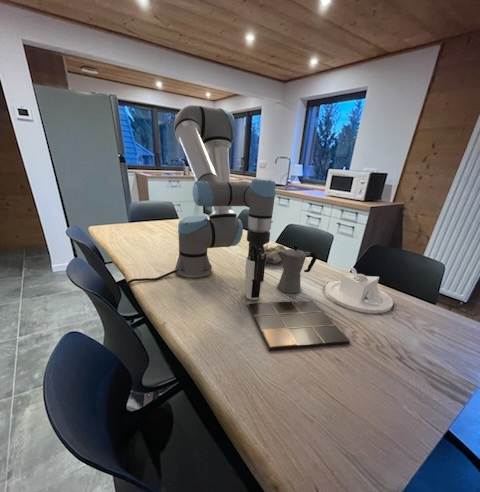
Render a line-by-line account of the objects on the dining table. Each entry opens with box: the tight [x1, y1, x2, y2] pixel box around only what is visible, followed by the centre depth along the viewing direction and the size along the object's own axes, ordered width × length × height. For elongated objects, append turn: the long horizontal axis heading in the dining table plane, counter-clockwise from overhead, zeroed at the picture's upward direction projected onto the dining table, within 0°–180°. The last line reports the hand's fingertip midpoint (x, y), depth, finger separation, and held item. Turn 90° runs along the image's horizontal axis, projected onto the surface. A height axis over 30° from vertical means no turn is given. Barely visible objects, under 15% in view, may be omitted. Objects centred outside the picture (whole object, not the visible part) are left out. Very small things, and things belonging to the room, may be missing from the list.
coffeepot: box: [277, 244, 318, 294], centre depth 102 cm, size 15×9×18 cm, turn 92°
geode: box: [264, 244, 287, 265], centre depth 133 cm, size 17×9×15 cm
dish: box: [324, 266, 394, 314], centre depth 101 cm, size 25×25×11 cm
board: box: [247, 300, 351, 352], centre depth 83 cm, size 24×24×1 cm
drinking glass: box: [244, 255, 266, 301], centre depth 94 cm, size 7×7×15 cm
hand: (252, 292), depth 96 cm, fingers closed on drinking glass, 6 cm apart
